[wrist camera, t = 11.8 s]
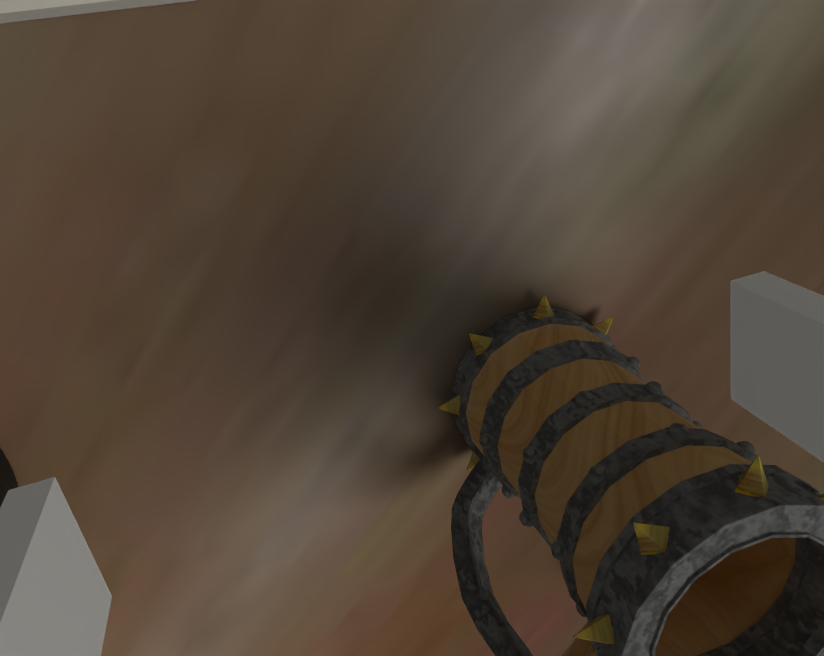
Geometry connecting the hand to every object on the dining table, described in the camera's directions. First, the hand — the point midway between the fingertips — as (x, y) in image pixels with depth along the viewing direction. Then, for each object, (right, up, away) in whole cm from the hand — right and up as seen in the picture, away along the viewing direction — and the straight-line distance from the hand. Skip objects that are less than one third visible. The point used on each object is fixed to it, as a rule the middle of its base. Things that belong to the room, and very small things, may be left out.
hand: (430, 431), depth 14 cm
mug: (+6, -3, +31) cm, 31 cm away
